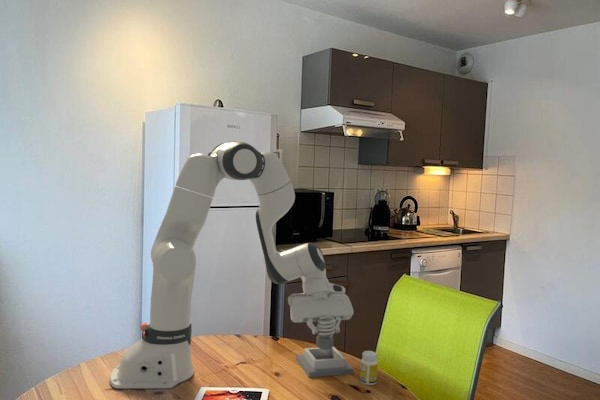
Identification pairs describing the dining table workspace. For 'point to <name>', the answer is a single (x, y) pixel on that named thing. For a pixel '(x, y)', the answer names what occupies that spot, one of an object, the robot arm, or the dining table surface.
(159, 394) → the dining table surface
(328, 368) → the bulb socket
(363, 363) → the supplement bottle
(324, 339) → the light bulb
